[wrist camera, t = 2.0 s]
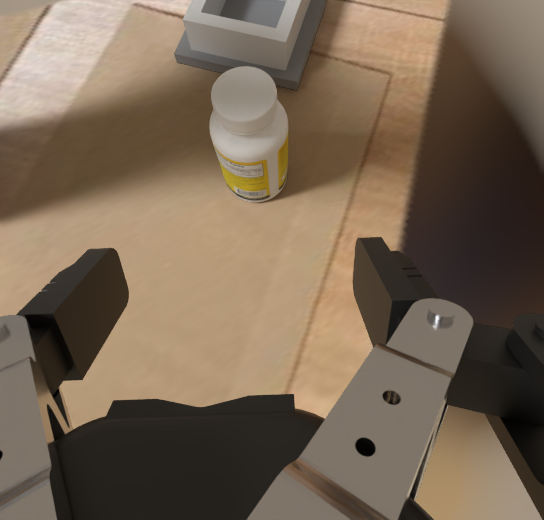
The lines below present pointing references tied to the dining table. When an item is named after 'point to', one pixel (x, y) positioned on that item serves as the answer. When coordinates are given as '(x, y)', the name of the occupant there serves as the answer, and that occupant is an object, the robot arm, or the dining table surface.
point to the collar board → (251, 36)
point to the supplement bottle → (249, 133)
